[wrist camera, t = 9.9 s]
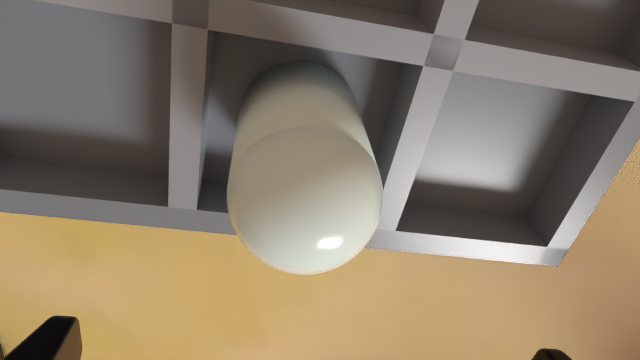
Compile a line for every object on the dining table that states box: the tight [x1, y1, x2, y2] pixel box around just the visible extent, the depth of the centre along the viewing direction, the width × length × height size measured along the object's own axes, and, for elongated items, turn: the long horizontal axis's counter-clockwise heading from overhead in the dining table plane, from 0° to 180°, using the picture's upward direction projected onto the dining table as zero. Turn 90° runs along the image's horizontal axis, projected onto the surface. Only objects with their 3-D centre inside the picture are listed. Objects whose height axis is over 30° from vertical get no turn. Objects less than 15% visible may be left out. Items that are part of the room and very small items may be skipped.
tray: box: [0, 0, 640, 267], centre depth 15 cm, size 24×16×2 cm
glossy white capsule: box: [227, 60, 383, 275], centre depth 14 cm, size 4×4×7 cm
